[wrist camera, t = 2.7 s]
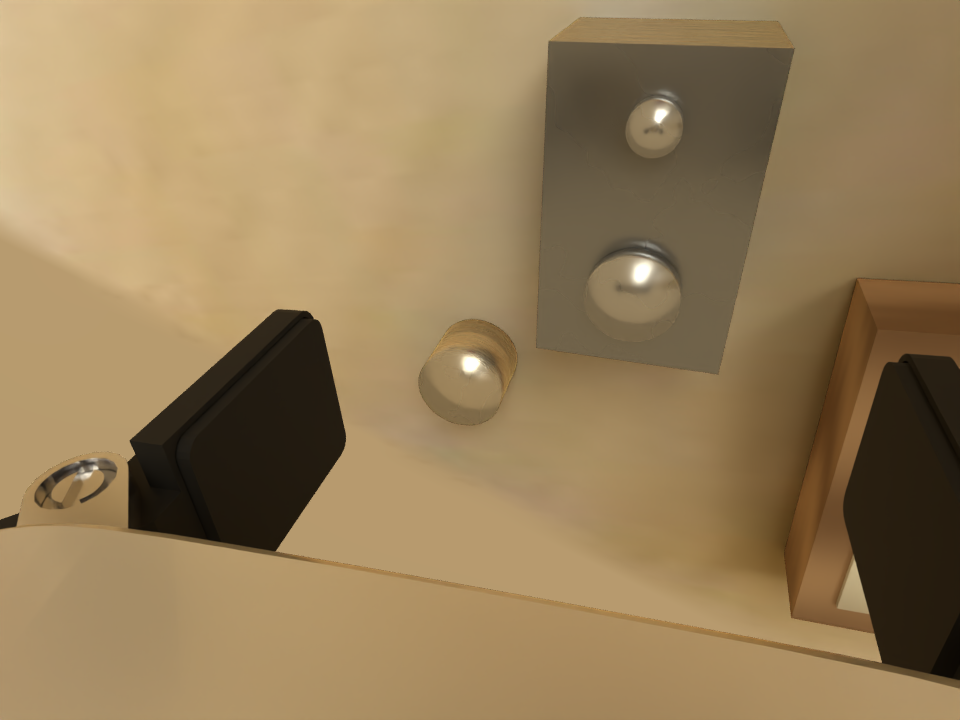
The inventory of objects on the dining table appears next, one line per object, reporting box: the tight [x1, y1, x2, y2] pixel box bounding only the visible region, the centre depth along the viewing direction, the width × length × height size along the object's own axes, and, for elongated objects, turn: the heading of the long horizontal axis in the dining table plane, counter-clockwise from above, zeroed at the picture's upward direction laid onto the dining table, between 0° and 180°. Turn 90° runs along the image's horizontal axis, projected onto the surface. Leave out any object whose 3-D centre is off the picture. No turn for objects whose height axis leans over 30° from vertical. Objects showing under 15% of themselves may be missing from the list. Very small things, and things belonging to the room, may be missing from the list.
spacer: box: [419, 319, 517, 425], centre depth 24 cm, size 3×3×2 cm
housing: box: [536, 17, 795, 374], centre depth 17 cm, size 8×5×5 cm, turn 1°
